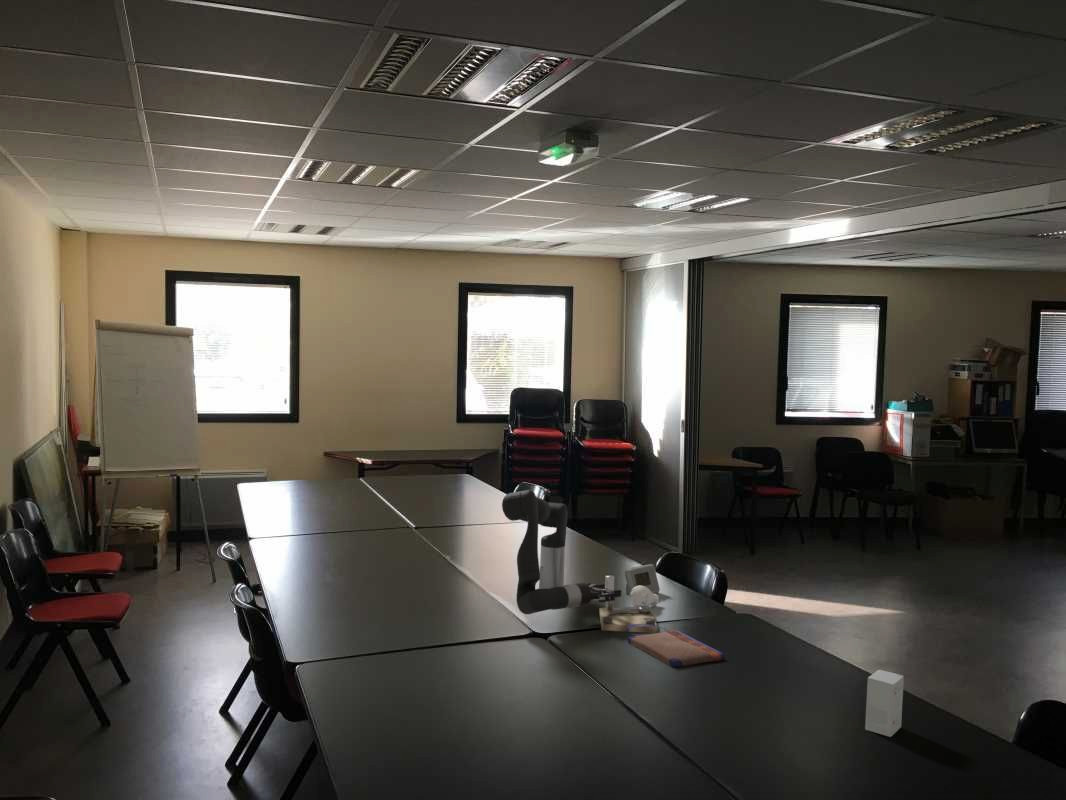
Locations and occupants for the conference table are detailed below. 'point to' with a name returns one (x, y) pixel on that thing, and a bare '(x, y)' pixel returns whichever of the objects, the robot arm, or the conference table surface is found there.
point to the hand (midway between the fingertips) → (612, 589)
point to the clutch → (674, 648)
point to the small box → (884, 702)
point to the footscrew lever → (609, 607)
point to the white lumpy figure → (643, 596)
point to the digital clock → (642, 578)
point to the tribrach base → (627, 621)
